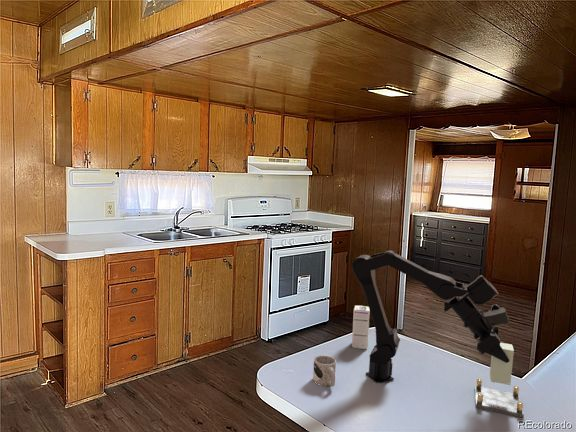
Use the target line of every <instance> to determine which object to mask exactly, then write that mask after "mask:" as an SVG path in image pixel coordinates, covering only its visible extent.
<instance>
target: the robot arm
mask: <svg viewBox="0 0 576 432" xmlns="http://www.w3.org/2000/svg"><path fill="white" fill-rule="evenodd" d="M386 266H389V267H391V268H393V269H394V270H397V271H399V272H401V273H402V274H404V275H406V276H408V277H410V278H411V279H414V280H416V281H418V282H419V283H421V284H423V285H424V286H426V287H427V289H428V290H430V291H431V292H432V293H433V294H434V295H436V296H437V297H438V298H440V299H442V300H443V305H444V306H443V312H444V313H446V312H448V311H449V310H450V309H451V310H452V311H453V312H454V314H455V315H456V316H457V317H458V318H459V320H461V322H462V323H463V326H464V328H467V329H468V330H469V331H470V332H471V333H472V334H473V335H472V336H473V338H474V339H475V340H476V347H475V348H476V350H477V351H478V352H479V354H480V355H484V354H488V355H490V356H491V357H492V356H494V357H496V358H498V359H500V360H502V361H504V362H505V363H508V362H509V361H510V360H509V359H508V357H507V355H506V354H505V352H504V350H503V349H502V347H501V346H500V343H503V342H502V341H501V340H502V338H501V336H499V325H502V324H505V325H506V324H508V323H510V322H511V321H510V318H509V316H508V313H507V310H506V308H505V307H502V306H499V305H498V304H497V303H494V304H492V305H491V308H490V310H488V311H486V312H484V311H483V309H480V308H478V307H477V305H481V306H484V305H485V304H486V303H488V302H489V301H491V300H493V298H495V297H497V296H498V295H500V294H499V292H498V290H497V289H496V287H495V286H494V285H493V284H492V282H490V281H488V279H487V278H485V277H484V275H481V274H480V275H479V276H477V278H476V279H475V280H473V281H472V282H470V283H468V284H467V283H462V282H460V281H459V282H458V281H456V280H455V279H454V278H453V277H451V276H448V275H445V274H442V273H438V272H435V271H430V270H428V269H426V268H424V267H422V266H421V265H419V264H417V263H414V262H413V261H411V260H409V259H407V258H405V257H404V256H401V255H400V254H398V253H396V252H395V251H394V250H387V251H384V252H379V253H374V254H371V255H368V254H361V255H359V256H358V257H356V258H355V259H354V260H353V262H352V263H351V270H352V272H353V274H354V276H355V277H356V280H357V281H358V282H359V284H360V285H361V287H362V288H363V292H364V293H363V294H364V296H365V299H366V302H367V306H368V307H369V309H370V312H369V313H370V315H371V319H372V321H373V322H372V323H373V326H374V329H375V345H374V347H373V348H372V349H371V352H370V354H369V361H368V362H369V365H368V371H367V372H365V375H366V376H367V377H369V378H370V379H371V380H372V381H374V382H375V383H376V384H380V383H385V382H390V381H394V377H393V376H392V375H393V358H394V357H395V356H396V354H397V351H398V349H399V345H400V342H401V339H400V337H399V336H398V330H397V327H395V328H392V327H391V326H390V324H389V322H388V318H387V316H386V311H385V308H384V305H383V302H382V298H381V295H380V292H379V289H378V286H377V282H376V270H378V269H380V268H383V267H386ZM494 326H495V327H494Z"/></svg>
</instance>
